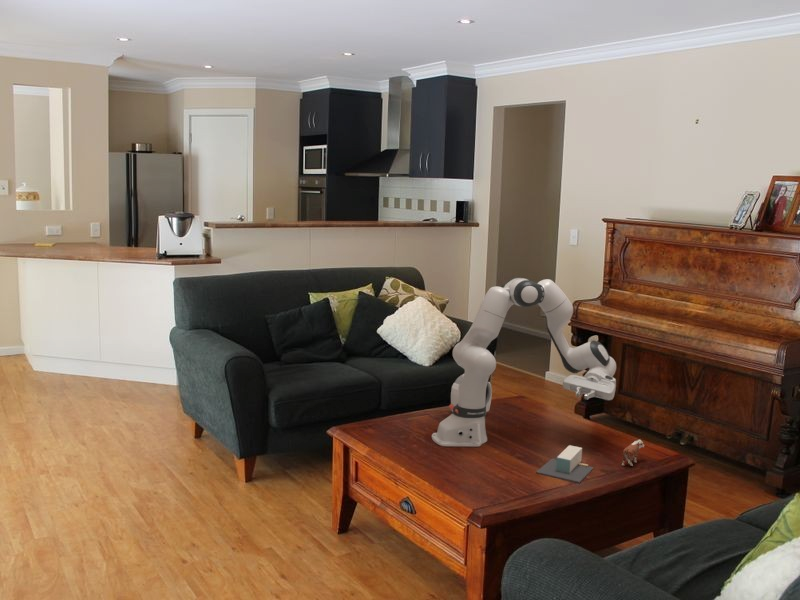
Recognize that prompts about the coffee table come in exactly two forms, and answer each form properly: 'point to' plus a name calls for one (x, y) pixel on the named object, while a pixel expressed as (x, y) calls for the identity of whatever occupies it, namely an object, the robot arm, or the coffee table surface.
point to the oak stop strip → (583, 464)
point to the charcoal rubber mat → (573, 476)
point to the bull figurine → (632, 451)
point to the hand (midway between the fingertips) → (581, 396)
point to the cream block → (569, 459)
